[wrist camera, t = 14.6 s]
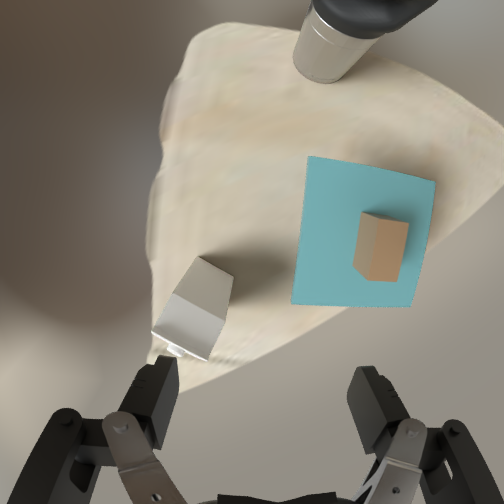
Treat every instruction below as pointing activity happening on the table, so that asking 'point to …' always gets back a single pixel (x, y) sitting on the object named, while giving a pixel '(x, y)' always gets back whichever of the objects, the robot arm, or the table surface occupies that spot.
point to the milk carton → (195, 311)
